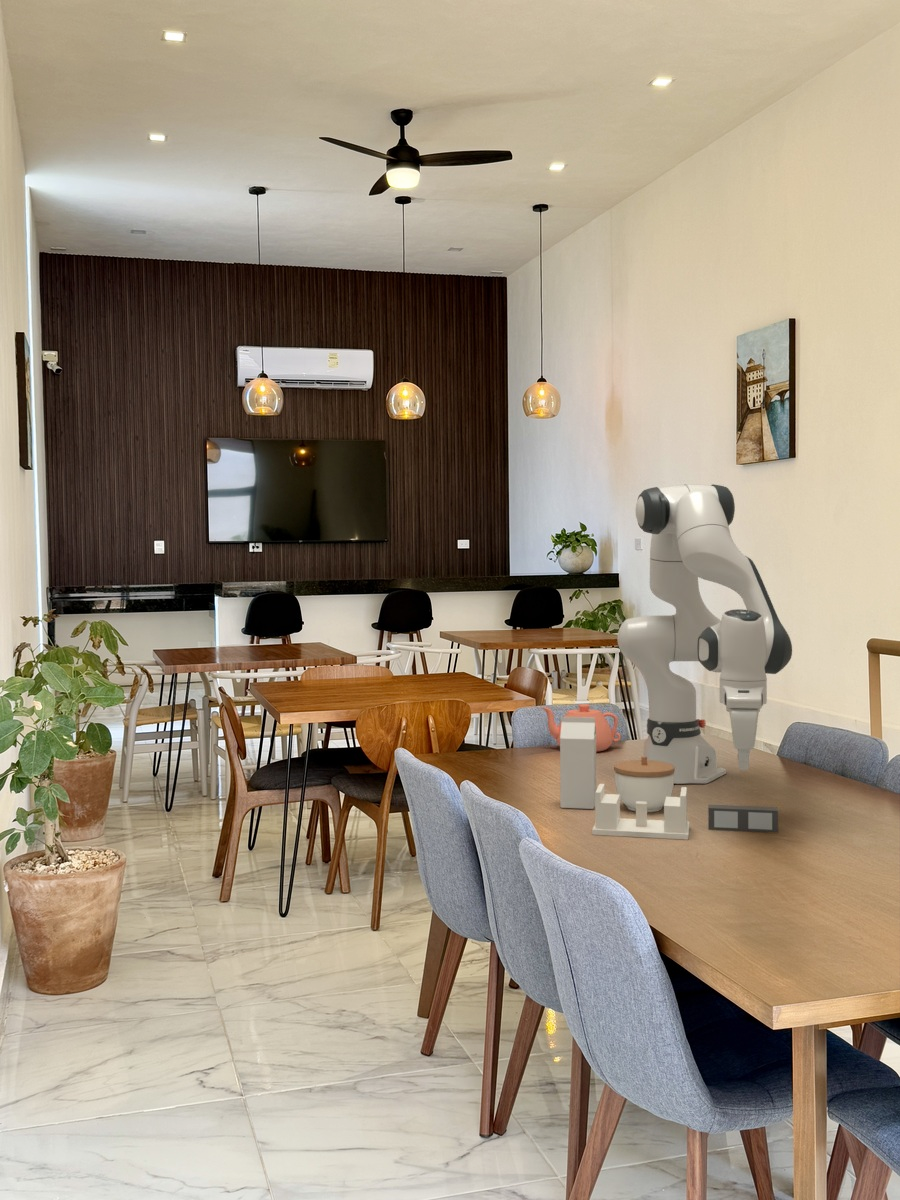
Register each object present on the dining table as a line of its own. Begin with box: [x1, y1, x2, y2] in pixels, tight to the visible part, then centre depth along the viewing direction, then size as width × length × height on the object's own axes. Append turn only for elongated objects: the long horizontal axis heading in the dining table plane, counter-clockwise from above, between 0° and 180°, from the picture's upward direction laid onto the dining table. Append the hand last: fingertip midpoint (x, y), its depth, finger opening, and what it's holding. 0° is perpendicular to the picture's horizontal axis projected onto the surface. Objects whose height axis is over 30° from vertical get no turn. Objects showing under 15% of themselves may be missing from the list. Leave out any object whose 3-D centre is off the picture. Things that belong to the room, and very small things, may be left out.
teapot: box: [540, 703, 621, 753], centre depth 299 cm, size 22×16×12 cm
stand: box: [591, 783, 691, 841], centre depth 211 cm, size 18×10×8 cm, turn 76°
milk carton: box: [559, 716, 597, 810], centre depth 232 cm, size 7×7×19 cm
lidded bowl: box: [613, 755, 675, 813], centre depth 229 cm, size 13×13×11 cm
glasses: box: [707, 804, 779, 833], centre depth 211 cm, size 13×3×4 cm, turn 77°
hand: (743, 764), depth 211 cm, fingers open, 8 cm apart
